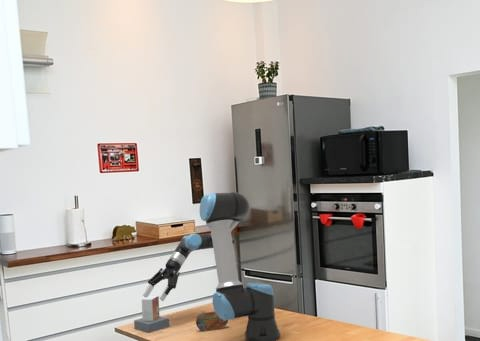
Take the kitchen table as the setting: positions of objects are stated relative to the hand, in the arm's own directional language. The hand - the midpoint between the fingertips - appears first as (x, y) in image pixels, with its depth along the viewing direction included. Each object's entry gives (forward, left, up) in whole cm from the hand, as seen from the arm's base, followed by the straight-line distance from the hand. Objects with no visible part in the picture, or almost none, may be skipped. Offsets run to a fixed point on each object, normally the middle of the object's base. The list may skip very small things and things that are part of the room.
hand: (152, 298), depth 235 cm
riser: (0, +1, -14) cm, 14 cm away
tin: (-27, -14, -14) cm, 34 cm away
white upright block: (0, +1, -10) cm, 10 cm away
